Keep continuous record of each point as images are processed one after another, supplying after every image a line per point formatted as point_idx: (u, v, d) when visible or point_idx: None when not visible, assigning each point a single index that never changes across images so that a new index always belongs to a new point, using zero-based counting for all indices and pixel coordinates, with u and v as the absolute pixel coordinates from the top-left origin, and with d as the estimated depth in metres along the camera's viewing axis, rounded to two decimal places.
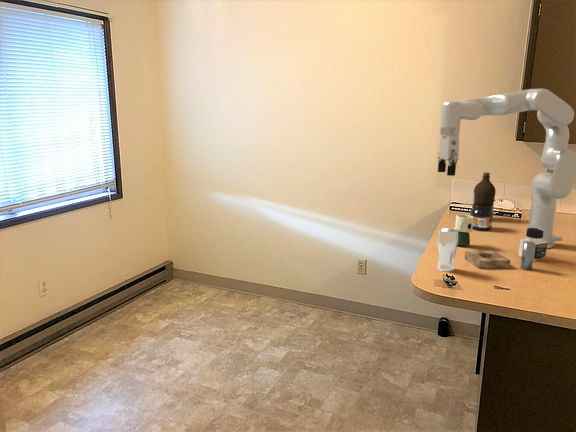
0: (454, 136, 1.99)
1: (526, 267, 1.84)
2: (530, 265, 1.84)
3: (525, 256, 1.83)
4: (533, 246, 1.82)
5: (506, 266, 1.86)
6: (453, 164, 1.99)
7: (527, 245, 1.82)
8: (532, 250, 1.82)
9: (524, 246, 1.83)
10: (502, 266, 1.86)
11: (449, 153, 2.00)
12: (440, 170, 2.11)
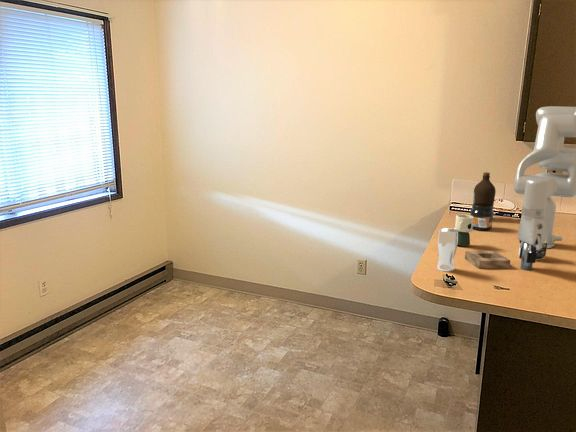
0: (540, 219, 1.77)
1: (526, 267, 1.84)
2: (530, 265, 1.84)
3: (525, 256, 1.83)
4: (533, 246, 1.82)
5: (506, 266, 1.86)
6: (534, 251, 1.80)
7: (527, 245, 1.82)
8: None
9: (524, 246, 1.83)
10: (502, 266, 1.86)
11: (534, 238, 1.78)
12: None
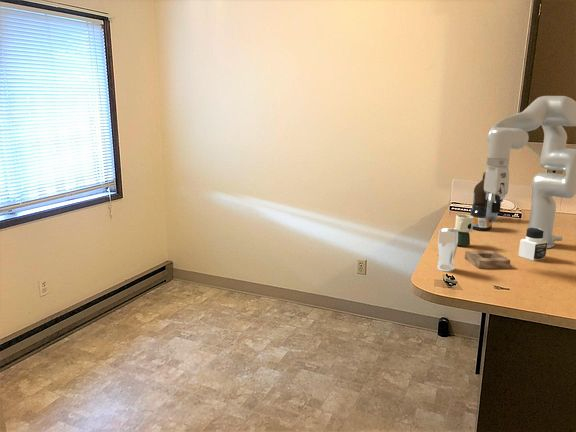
0: (503, 168, 1.79)
1: (490, 217, 1.86)
2: (495, 215, 1.85)
3: (489, 206, 1.85)
4: (497, 196, 1.84)
5: (506, 266, 1.86)
6: (498, 201, 1.82)
7: (491, 195, 1.84)
8: None
9: (489, 196, 1.85)
10: (502, 266, 1.86)
11: (498, 187, 1.80)
12: None
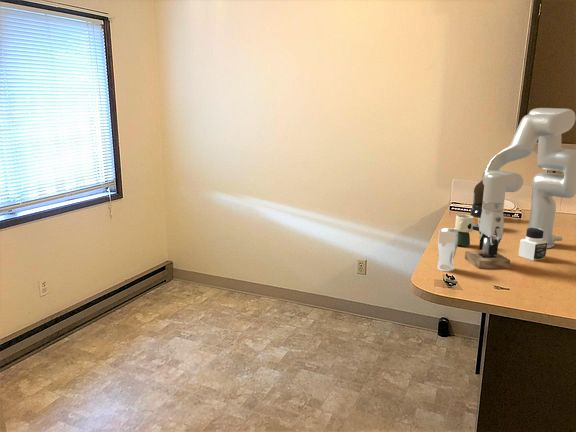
0: (498, 212, 1.83)
1: None
2: None
3: (485, 250, 1.89)
4: None
5: (506, 266, 1.86)
6: (495, 243, 1.84)
7: (487, 240, 1.88)
8: None
9: (484, 241, 1.89)
10: (502, 266, 1.86)
11: (493, 230, 1.83)
12: (482, 247, 1.93)
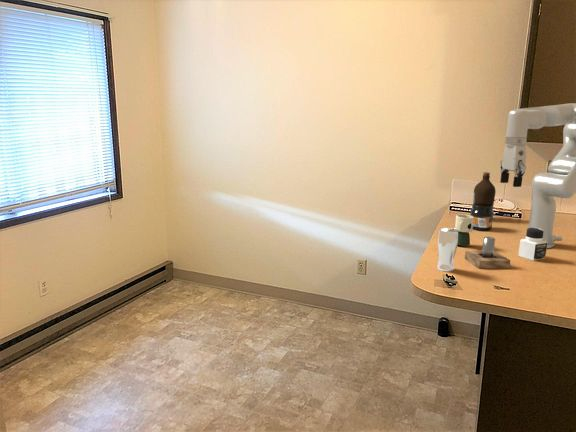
0: (521, 146, 1.92)
1: None
2: None
3: (485, 250, 1.89)
4: (493, 241, 1.88)
5: (506, 266, 1.86)
6: (520, 175, 1.93)
7: (487, 240, 1.88)
8: (492, 245, 1.88)
9: (484, 241, 1.89)
10: (502, 266, 1.86)
11: (516, 164, 1.93)
12: (503, 181, 2.04)
